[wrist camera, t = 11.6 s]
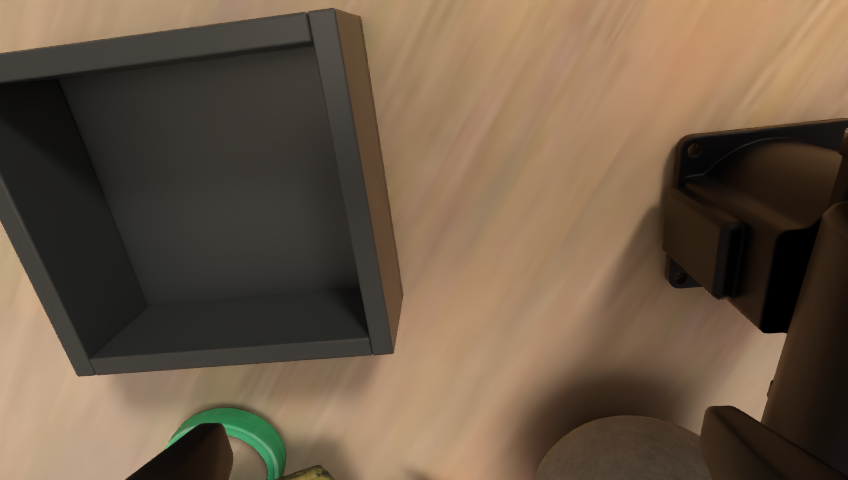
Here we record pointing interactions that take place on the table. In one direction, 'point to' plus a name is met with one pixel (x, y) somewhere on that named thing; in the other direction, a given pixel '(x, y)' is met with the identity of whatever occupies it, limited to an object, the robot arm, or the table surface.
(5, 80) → the basket
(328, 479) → the green leaf
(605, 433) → the decorative ball
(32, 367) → the table surface
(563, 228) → the table surface
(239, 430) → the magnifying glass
